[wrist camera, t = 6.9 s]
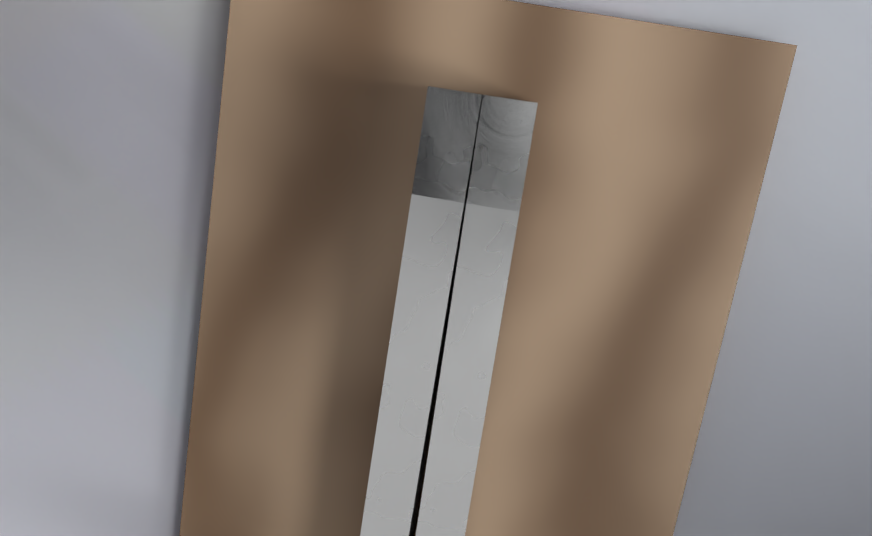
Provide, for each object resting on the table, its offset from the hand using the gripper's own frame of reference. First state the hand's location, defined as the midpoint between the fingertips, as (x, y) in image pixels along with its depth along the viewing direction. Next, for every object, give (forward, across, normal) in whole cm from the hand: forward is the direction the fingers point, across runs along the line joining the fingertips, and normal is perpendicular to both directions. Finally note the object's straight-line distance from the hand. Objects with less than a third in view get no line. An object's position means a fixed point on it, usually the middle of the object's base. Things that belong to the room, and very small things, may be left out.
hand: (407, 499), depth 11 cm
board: (+17, 0, +4) cm, 18 cm away
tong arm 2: (+16, +1, +3) cm, 16 cm away
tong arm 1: (+16, 0, +3) cm, 16 cm away
